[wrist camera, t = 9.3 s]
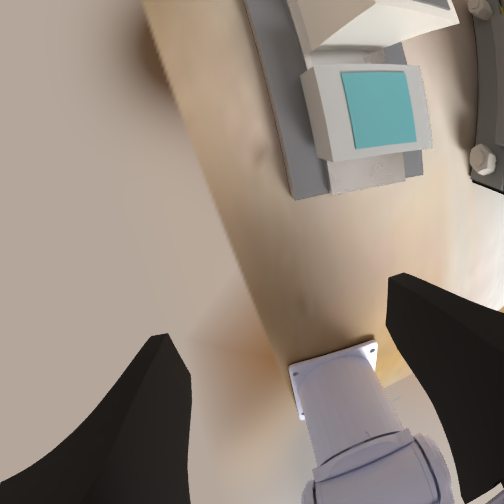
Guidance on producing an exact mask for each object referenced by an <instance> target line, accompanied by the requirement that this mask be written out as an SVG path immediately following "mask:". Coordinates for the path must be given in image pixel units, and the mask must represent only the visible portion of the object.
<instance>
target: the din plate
mask: <svg viewBox="0 0 504 504" xmlns="http://www.w3.org/2000/svg"><path fill="white" fill-rule="evenodd" d="M243 2H244V5H245V8H246V12H247V15H248V18H249V22H250V25H251V29H252V32H253V36H254V39H255V43H256V46H257V50H258V54H259V57H260V61H261V65H262V69H263V73H264V76H265V80H266V84H267V88H268V92H269V96H270V100H271V105H272V109H273V113H274V117H275V122H276V126H277V130H278V135H279V139H280V144H281V149H282V153H283V158H284V163H285V167H286V172H287V177H288V182H289V187H290V192H291V197H292V198H293V199H294V200H300V199H304V198H309V197H313V196H318V195H322V194H327V193H328V186H327V180H326V174H325V168H324V162H323V159H321V158H318V157H317V154H316V148H315V143H314V138H313V133H312V128H311V123H310V119H309V114H308V109H307V105H306V101H305V96H304V92H303V88H302V84H301V80H300V75H301V74H303V73H304V68H303V65H302V61H301V57H300V53H299V50H298V46H297V43H296V39H295V36H294V33H293V29H292V26H291V23H290V19H289V16H288V13H287V10H286V7H285V4H284V1H283V0H243ZM383 50H384V54H385V58H386V61H387V64H397V65H407V62H406V58H405V55H404V51H403V47H402V44H401V42H399V43H396V44H393V45H391V46H388V47H385V48H383ZM403 159H404V170H405V178H408V177H414V176H419V175H423V162H422V151H421V150H415V151H406V152H403Z"/></svg>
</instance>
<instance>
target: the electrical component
mask: <svg viewBox="0 0 504 504" xmlns="http://www.w3.org/2000/svg"><path fill="white" fill-rule="evenodd" d="M467 7H468V10H469V12H470V13H472V15H473V21H474V28H475V35H476V45H477V57H478V82H479V95H478V120H477V133H476V143H475V147H473V148H472V149H471V153H470V164H471V166H472V172H471V178H470V179H473V181H472V182H473V183H476V184H478V185H481V186H483V187H486V188H489V189H491V190H494V191H496V192H498V193H501V194H503V195H504V0H468V1H467Z"/></svg>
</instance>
